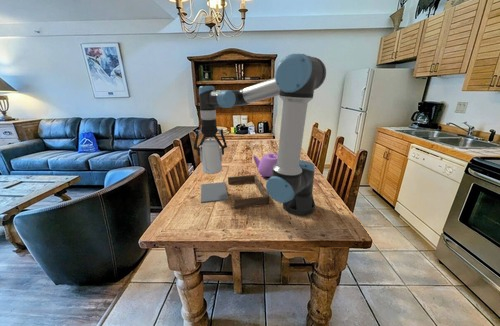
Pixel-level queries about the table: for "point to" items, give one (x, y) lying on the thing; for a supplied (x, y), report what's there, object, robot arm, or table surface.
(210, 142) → the coffeepot
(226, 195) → the trivet
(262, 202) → the bracket
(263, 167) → the teapot
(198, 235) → the table surface
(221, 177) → the table surface
